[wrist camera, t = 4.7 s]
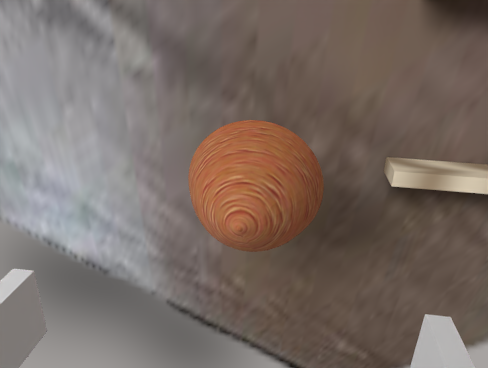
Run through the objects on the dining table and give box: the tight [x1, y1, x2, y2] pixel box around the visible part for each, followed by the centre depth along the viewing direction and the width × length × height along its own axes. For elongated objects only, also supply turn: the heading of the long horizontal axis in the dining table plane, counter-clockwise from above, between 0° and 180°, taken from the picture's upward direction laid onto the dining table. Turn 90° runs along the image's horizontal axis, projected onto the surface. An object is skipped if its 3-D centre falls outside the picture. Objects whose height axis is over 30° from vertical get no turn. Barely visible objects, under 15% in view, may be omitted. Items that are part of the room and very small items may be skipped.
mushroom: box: [189, 120, 324, 252], centre depth 26 cm, size 8×8×15 cm
